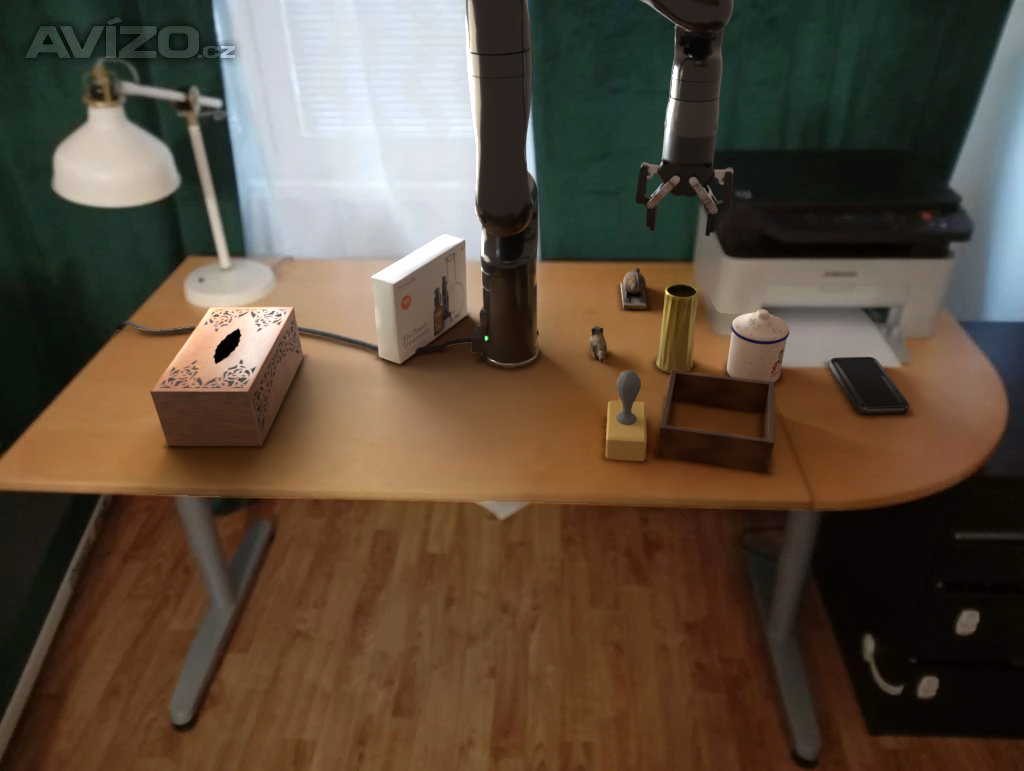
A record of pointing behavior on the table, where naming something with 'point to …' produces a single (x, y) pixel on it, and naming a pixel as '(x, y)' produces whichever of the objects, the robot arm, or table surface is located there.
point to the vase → (678, 328)
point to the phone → (868, 386)
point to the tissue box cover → (229, 377)
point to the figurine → (633, 290)
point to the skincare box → (420, 297)
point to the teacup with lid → (757, 346)
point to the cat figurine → (598, 343)
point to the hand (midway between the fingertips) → (679, 231)
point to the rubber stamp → (626, 421)
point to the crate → (717, 444)
